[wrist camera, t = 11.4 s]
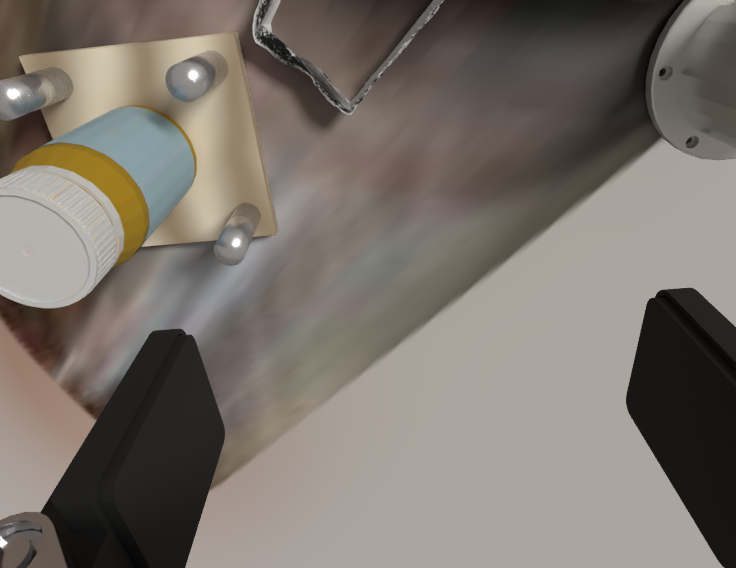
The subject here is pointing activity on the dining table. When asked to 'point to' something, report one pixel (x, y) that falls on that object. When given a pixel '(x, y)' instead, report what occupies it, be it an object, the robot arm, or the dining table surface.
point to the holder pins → (183, 84)
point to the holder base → (197, 118)
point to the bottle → (89, 203)
